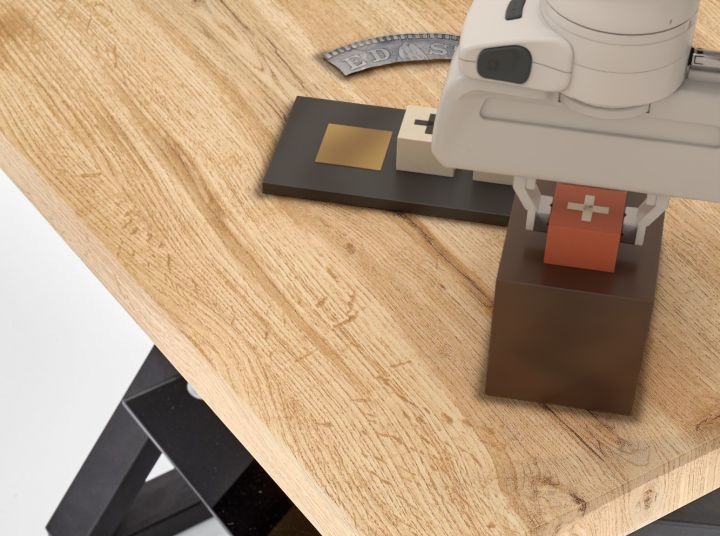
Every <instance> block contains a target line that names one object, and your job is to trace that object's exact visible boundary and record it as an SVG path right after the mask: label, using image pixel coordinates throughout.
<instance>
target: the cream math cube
mask: <svg viewBox="0 0 720 536" xmlns="http://www.w3.org/2000/svg"><path fill="white" fill-rule="evenodd" d="M437 108H438V107H431V106H430V107H429V106H423V105H415V104H414V105H413V104H407V106H406V108H405V109H406V112H405V115H404V118H403V121H402V125H401V128H400V131H399V134H398V137H397V160H396V170H402V171H409V172H417V173H424V174H432V175H439V176H447V177H453V176H454V173H455V169H456V168H449V167H444V166H442V165H441V164H440V162H439V161H438V160H437V159H436V157H435V156H434V154H433V153H432V151H431V142H432V134H433V127H434V122H435V117H436V112H437Z"/></svg>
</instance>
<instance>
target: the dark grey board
mask: <svg viewBox="0 0 720 536" xmlns="http://www.w3.org/2000/svg"><path fill="white" fill-rule="evenodd" d="M406 109H407V108H396V107H389V106H381V105H373V104H367V103H358V102H350V101H342V100H334V99H327V98H321V97H320V98H319V97H311V96H304V95H296V96H295V100H294V101H293V104H292V107H291V109H290V112H289V114H288V117H287V119H286V122H285V124H284V127H283V129H282V132H281V134H280V137H279V139H278V142H277V144H276V146H275V148H274V149H275V150H274V152H273V153H272V157H271V159H270V162H269V165H268V166H267V169H266V172H265V174H264V177H263V179H262V182H261V189H262V193H263V194H269V195H275V196H276V195H277V196H284V197H290V198H291V197H292V198H299V199H306V200H313V201H321V202H329V203H337V204H343V205H351V206H358V207H366V208H372V209H380V210H386V211H394V212H403V213H409V214H417V215H424V216H430V217H431V216H432V217H439V218H445V219H454V220H461V221H468V222H476V223H482V224H490V225H497V226H505V227H508V224H509V219H510V215H511V210H512V206H513V201H514V197H515V190H514V189H513V185H506V184H498V183H491V182H483V181H476V180H473V171H472V170H465V169H457V168H456V169H455V173H454V176H453V177H447V176H439V175H432V174H424V173H417V172H409V171H402V170H396V160H397V137H398V134H399V131H400V128H401V125H402V121H403V118H404V115H405V112H406Z"/></svg>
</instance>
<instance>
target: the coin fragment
mask: <svg viewBox="0 0 720 536" xmlns="http://www.w3.org/2000/svg"><path fill="white" fill-rule="evenodd" d="M460 36H461V34H460V35H459V34H453V33H448V32H421V33H420V32H418V33H417V32H416V33H414V32H405V33H397V34H396V33H393V34H387V35H386V34H385V35H383V36H374V37H370V38H366V39H362V40H359V41H354V42H351V43H349V44H346V45H343V46H341V47H338V48H335V49H332V50H330V51H327V52H326V53H323V54H322V55H321V56H322V58H324V59H325V60H327V62H328V63H330V64H332V65H333V66H335V67H336V68H337V69H339V70H340V71H341V72H342V73H343V75H344V76H348V75H350V74H353V73H355V72H356V73H357V72H359V71H360V72H361V71H364V70H365V69H369V68H374V67H380V66H384V65H389V64H393V63H398V62H411V61H425V60H426V61H428V60H430V61H431V60H443V59H445V60H452V57H453V55H454V52H455V51H456V49H457V47H458V46H459V42H460Z"/></svg>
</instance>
